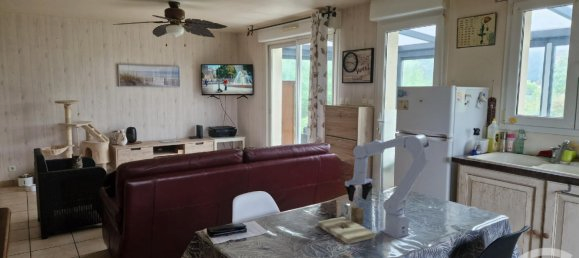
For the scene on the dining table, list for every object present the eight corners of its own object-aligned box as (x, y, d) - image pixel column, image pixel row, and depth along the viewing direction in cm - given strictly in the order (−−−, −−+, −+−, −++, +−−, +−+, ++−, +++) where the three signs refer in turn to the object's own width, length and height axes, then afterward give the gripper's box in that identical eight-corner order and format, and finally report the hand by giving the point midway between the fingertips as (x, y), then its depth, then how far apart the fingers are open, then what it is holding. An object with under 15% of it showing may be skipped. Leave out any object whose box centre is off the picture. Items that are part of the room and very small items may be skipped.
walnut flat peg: (363, 224, 169) (363, 209, 168) (357, 225, 168) (358, 210, 167) (356, 220, 174) (356, 206, 173) (350, 221, 172) (351, 206, 171)
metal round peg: (352, 218, 176) (352, 204, 175) (343, 220, 174) (343, 205, 173) (345, 215, 181) (346, 201, 180) (337, 217, 178) (337, 202, 177)
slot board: (375, 237, 154) (375, 232, 154) (347, 244, 147) (348, 239, 147) (343, 220, 173) (343, 216, 173) (317, 225, 167) (317, 221, 166)
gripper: (367, 167, 175) (364, 195, 177) (341, 169, 168) (339, 198, 170) (377, 171, 169) (374, 200, 171) (351, 174, 162) (348, 204, 164)
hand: (357, 199), depth 170 cm, fingers open, 7 cm apart
